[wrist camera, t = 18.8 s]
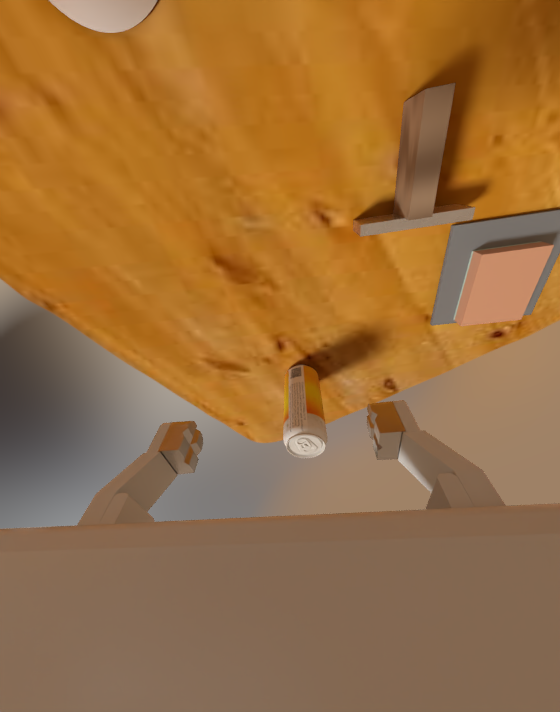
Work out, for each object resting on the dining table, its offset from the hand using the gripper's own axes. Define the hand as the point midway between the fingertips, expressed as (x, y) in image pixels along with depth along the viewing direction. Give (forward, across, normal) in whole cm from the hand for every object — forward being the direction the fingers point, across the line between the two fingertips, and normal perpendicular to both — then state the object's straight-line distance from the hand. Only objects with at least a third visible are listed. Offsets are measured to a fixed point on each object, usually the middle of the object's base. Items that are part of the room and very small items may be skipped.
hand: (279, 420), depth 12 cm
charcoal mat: (+28, -28, +7) cm, 40 cm away
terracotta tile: (+26, -28, +3) cm, 38 cm away
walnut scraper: (+28, -15, -7) cm, 33 cm away
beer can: (+28, 0, +21) cm, 35 cm away
